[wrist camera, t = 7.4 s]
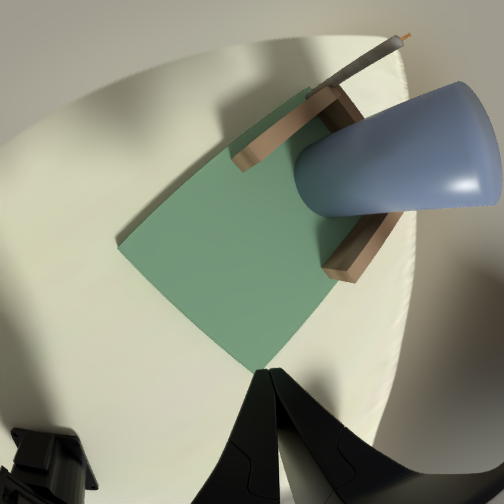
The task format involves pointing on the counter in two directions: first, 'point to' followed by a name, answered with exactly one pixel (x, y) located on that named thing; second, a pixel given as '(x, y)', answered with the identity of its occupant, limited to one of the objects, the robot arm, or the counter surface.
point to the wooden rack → (334, 118)
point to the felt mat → (243, 246)
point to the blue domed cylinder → (405, 159)
